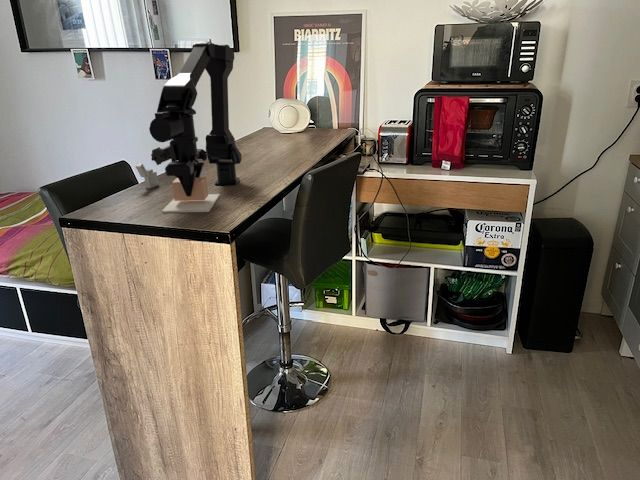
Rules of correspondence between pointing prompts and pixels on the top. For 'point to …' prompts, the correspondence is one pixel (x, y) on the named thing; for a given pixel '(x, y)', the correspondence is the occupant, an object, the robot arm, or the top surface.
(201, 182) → the tan rectangular block
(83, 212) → the top surface
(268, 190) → the top surface
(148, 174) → the grey jagged block
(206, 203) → the mat
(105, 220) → the top surface
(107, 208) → the top surface
